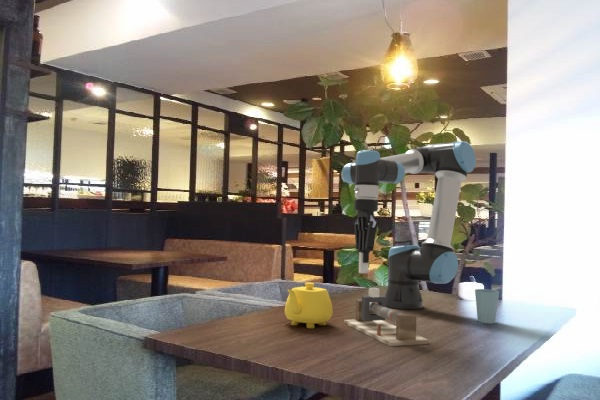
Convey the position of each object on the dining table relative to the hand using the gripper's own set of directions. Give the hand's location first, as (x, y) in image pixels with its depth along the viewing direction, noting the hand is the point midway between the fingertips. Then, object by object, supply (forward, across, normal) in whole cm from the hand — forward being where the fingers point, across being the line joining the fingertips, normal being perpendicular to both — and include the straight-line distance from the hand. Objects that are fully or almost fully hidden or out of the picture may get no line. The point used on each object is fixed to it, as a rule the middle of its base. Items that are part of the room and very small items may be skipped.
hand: (363, 272), depth 167 cm
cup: (+16, +6, +44) cm, 47 cm away
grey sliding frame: (+14, +7, 0) cm, 15 cm away
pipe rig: (+16, +13, 0) cm, 21 cm away
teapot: (+16, -1, -18) cm, 25 cm away
